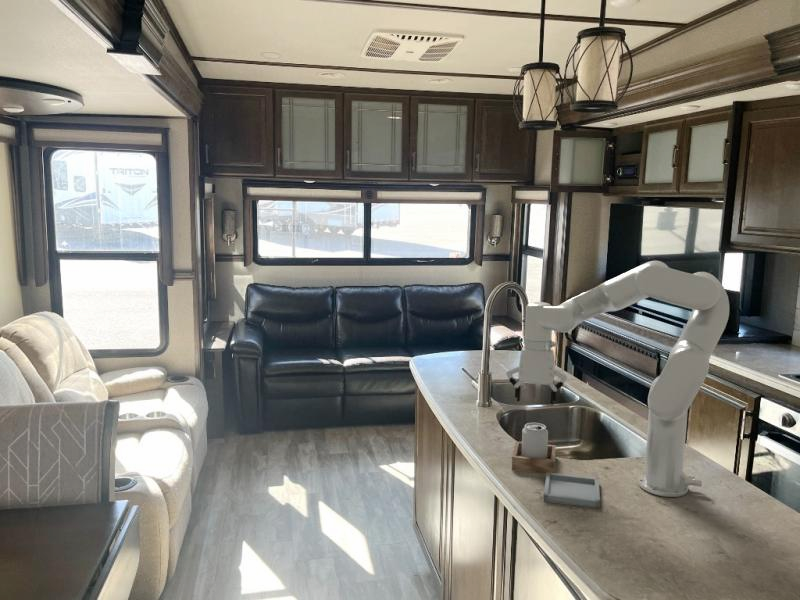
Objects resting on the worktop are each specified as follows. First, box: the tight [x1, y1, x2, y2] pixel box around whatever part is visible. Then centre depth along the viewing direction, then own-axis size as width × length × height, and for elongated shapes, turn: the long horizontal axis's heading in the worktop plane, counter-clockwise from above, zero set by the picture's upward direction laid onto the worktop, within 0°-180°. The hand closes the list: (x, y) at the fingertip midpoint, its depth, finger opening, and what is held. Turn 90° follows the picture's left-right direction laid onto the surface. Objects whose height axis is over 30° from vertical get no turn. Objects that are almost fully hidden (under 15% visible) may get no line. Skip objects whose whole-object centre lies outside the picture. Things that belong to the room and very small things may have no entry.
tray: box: [543, 472, 601, 509], centre depth 167 cm, size 14×14×2 cm
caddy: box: [511, 441, 557, 475], centre depth 185 cm, size 12×12×4 cm
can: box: [521, 422, 549, 459], centre depth 184 cm, size 8×8×12 cm
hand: (535, 401), depth 182 cm, fingers open, 9 cm apart
